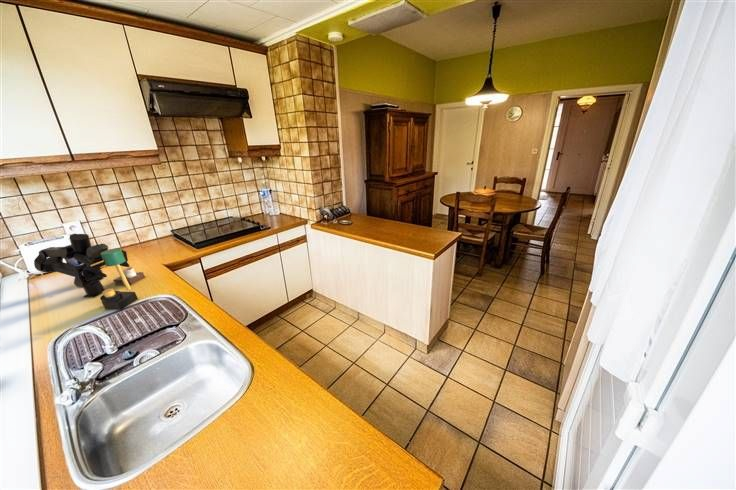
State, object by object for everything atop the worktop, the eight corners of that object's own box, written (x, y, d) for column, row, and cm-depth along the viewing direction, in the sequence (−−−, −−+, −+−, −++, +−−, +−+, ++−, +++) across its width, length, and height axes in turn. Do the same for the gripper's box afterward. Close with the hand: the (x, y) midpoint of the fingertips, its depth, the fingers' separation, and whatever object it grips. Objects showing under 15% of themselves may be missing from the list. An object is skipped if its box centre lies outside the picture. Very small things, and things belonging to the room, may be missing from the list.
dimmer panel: (115, 285, 135) (112, 280, 134) (130, 276, 143) (128, 271, 141) (133, 285, 134) (130, 280, 132) (147, 276, 142) (145, 271, 140)
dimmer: (123, 278, 135) (119, 270, 133) (131, 273, 139) (127, 266, 137) (130, 278, 135) (127, 270, 133) (138, 273, 139) (135, 266, 137)
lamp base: (102, 310, 114) (95, 299, 112) (121, 298, 122) (115, 287, 120) (120, 311, 114) (114, 299, 111) (138, 299, 122) (132, 288, 119)
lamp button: (102, 297, 113) (100, 292, 112) (110, 293, 117) (108, 288, 116) (110, 298, 113) (107, 293, 112) (118, 293, 116) (115, 288, 115)
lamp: (115, 293, 116) (95, 254, 108) (129, 285, 122) (111, 248, 114) (128, 293, 115) (109, 254, 108) (141, 285, 121) (124, 248, 114)
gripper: (57, 252, 106) (88, 265, 105) (109, 235, 123) (137, 246, 121) (65, 274, 112) (94, 287, 110) (114, 255, 128) (140, 266, 126)
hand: (118, 270), depth 116 cm, fingers open, 9 cm apart
